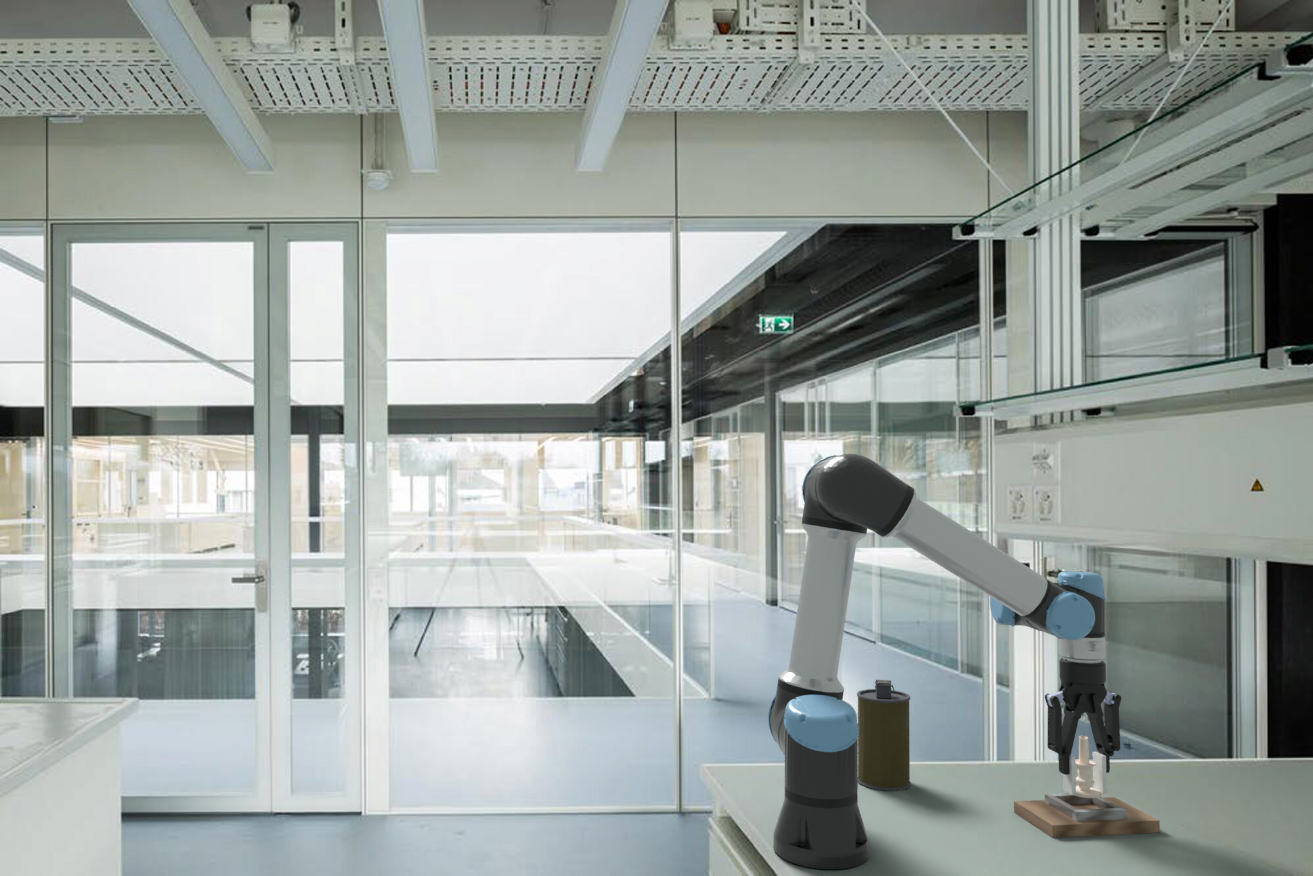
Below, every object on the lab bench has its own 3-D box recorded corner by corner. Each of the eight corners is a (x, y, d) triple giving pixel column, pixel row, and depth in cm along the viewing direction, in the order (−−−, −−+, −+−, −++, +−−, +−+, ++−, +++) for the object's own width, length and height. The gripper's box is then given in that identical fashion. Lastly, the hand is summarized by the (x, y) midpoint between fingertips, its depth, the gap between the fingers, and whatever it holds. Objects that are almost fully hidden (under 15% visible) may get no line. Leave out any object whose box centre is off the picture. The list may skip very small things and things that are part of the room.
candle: (1105, 799, 157) (1104, 738, 158) (1073, 797, 158) (1072, 736, 158) (1095, 789, 162) (1094, 730, 163) (1064, 787, 163) (1063, 729, 163)
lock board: (1052, 837, 152) (1052, 816, 152) (1014, 812, 164) (1013, 792, 164) (1159, 832, 155) (1159, 811, 155) (1114, 808, 167) (1114, 788, 167)
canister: (912, 793, 174) (912, 688, 175) (857, 789, 176) (857, 685, 177) (908, 776, 185) (908, 677, 186) (856, 772, 187) (856, 674, 188)
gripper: (1047, 664, 156) (1049, 801, 155) (1142, 662, 159) (1145, 796, 158) (1023, 656, 164) (1025, 787, 162) (1115, 654, 166) (1117, 783, 165)
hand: (1084, 791), depth 160 cm, fingers closed on candle, 5 cm apart
